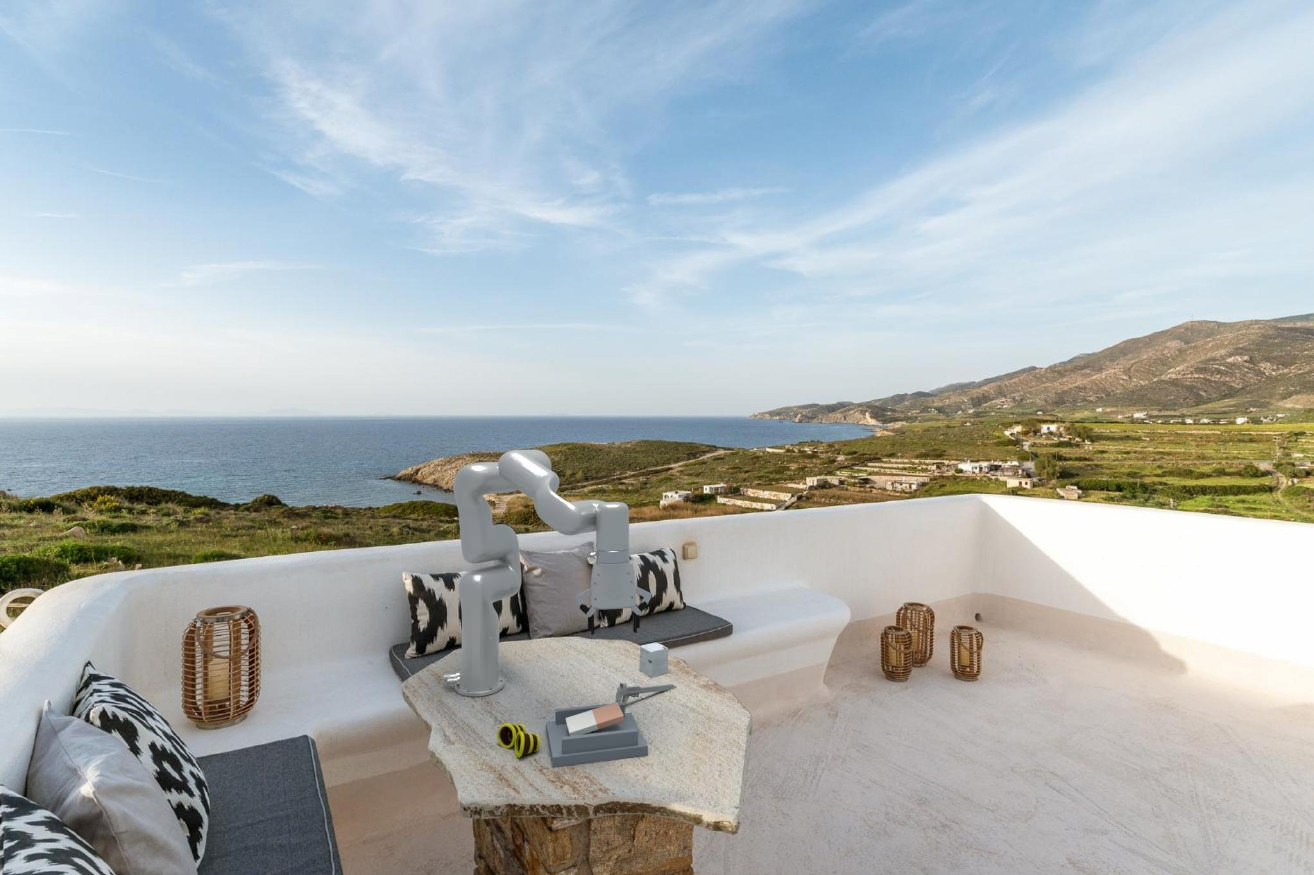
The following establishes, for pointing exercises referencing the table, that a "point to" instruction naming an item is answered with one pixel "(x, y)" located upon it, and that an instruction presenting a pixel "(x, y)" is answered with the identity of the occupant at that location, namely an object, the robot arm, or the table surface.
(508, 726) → the opera glasses
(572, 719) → the two-tone peach white tile
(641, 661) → the skincare box
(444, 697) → the table surface
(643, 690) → the caliper
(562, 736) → the grey piece
